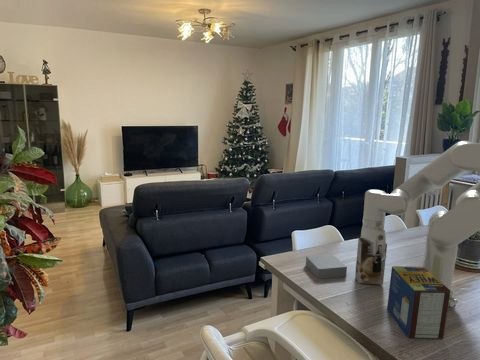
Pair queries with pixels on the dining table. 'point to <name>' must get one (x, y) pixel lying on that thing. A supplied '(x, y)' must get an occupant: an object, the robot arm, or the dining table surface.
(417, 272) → the protein box
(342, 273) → the pedestal
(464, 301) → the dining table surface
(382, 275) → the coffee box
